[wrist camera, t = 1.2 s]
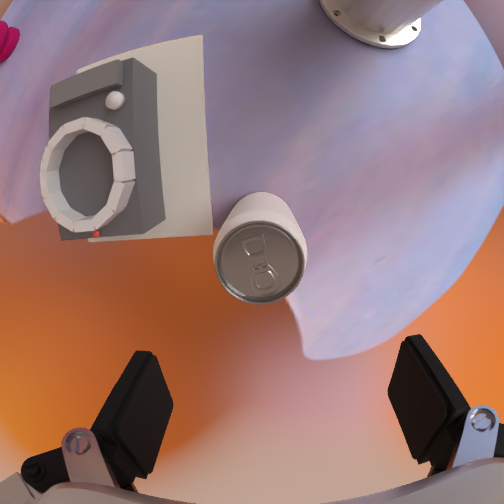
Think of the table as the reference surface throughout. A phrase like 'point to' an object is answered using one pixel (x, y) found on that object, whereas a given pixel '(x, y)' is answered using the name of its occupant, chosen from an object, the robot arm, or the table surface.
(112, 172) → the camera body
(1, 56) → the pepper mill
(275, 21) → the table surface
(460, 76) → the table surface
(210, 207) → the mat
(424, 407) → the robot arm
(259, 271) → the can
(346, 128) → the table surface
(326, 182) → the table surface
